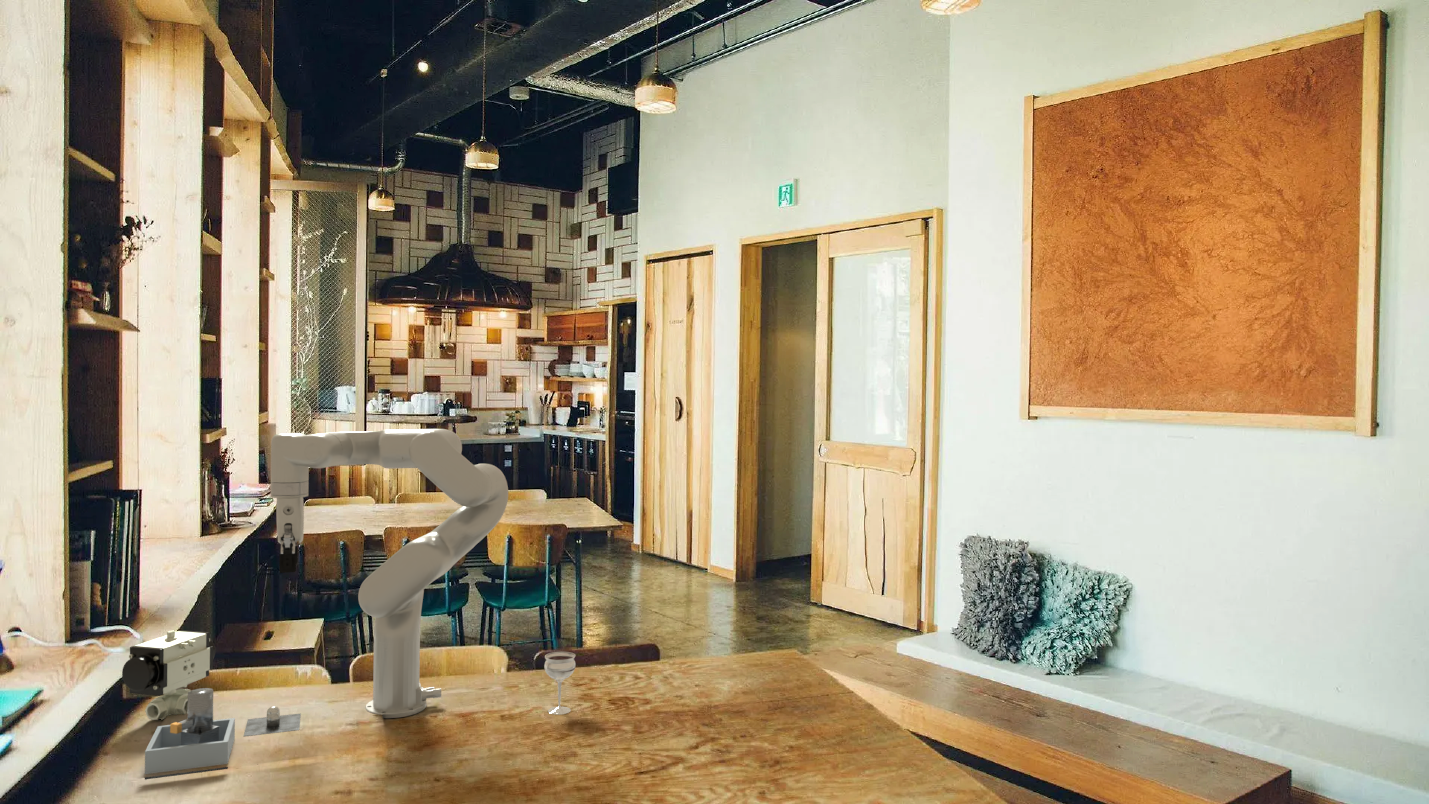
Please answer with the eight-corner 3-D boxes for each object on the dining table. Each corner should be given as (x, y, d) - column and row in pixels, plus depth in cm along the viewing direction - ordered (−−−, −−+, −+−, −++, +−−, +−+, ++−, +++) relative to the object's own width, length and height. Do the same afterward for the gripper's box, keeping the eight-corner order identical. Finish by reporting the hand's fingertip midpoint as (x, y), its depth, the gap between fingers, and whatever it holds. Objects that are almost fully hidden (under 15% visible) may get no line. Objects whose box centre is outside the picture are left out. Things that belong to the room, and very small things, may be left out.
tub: (234, 743, 179) (234, 717, 179) (227, 769, 167) (227, 741, 167) (157, 752, 174) (157, 726, 174) (144, 779, 162) (144, 751, 162)
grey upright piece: (200, 746, 175) (201, 686, 174) (218, 749, 173) (219, 689, 173) (164, 762, 167) (164, 700, 167) (182, 766, 166) (183, 703, 165)
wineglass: (537, 713, 198) (538, 658, 198) (554, 703, 204) (555, 650, 204) (564, 717, 195) (565, 662, 195) (580, 707, 202) (581, 653, 202)
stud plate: (300, 718, 193) (301, 696, 193) (299, 734, 183) (299, 711, 183) (247, 724, 189) (248, 701, 189) (243, 741, 180) (243, 717, 180)
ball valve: (156, 732, 184) (156, 644, 183) (120, 728, 185) (120, 641, 185) (221, 702, 201) (222, 622, 201) (187, 699, 203) (188, 620, 203)
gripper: (307, 493, 193) (306, 574, 193) (309, 485, 209) (308, 560, 209) (267, 494, 190) (267, 576, 190) (272, 486, 206) (272, 561, 206)
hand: (288, 567), depth 200 cm, fingers open, 9 cm apart
